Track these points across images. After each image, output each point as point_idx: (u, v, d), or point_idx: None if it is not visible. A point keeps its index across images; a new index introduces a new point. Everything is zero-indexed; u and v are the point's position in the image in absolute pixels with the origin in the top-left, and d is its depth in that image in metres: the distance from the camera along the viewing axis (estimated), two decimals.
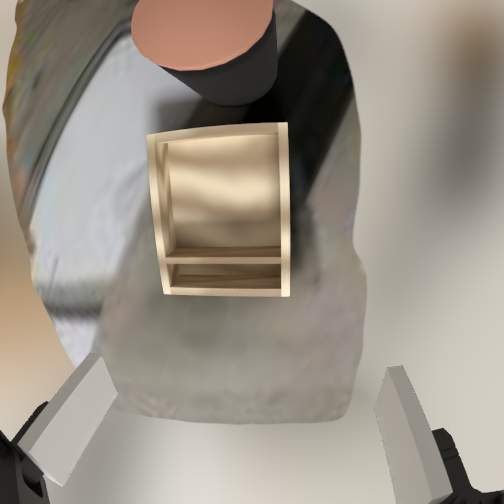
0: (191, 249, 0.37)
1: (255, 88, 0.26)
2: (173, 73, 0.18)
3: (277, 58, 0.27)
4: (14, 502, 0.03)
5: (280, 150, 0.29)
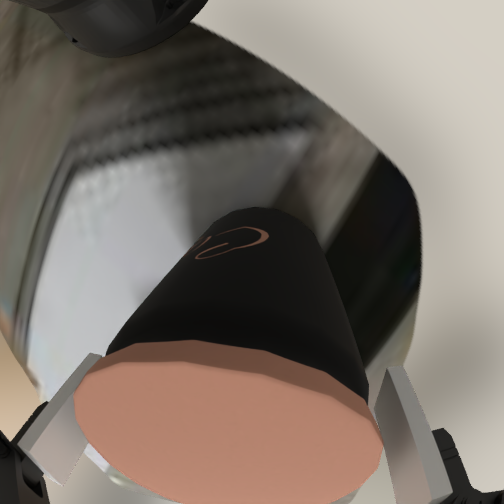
0: None
1: None
2: None
3: None
4: (14, 502, 0.03)
5: None
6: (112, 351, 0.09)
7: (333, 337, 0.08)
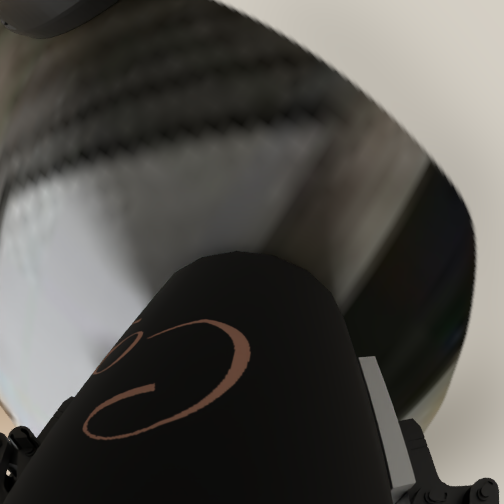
0: None
1: None
2: None
3: None
4: None
5: None
6: None
7: None
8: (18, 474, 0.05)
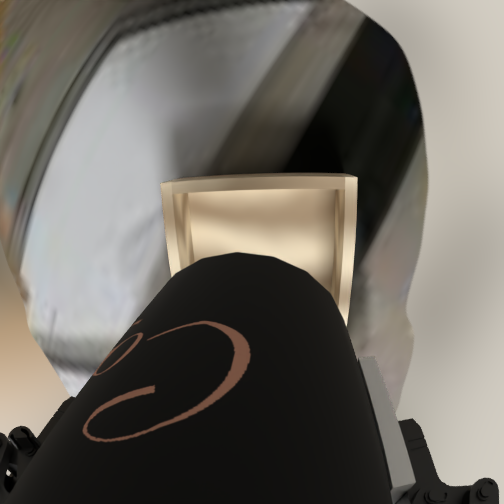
0: None
1: None
2: None
3: None
4: None
5: (346, 215, 0.22)
6: None
7: None
8: (18, 474, 0.05)
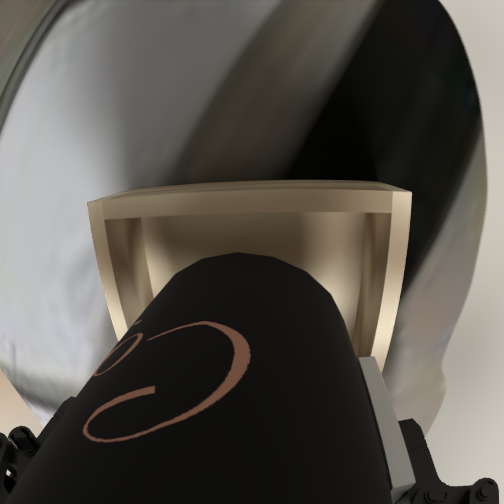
0: None
1: None
2: None
3: None
4: None
5: (390, 256, 0.13)
6: None
7: None
8: (18, 474, 0.05)
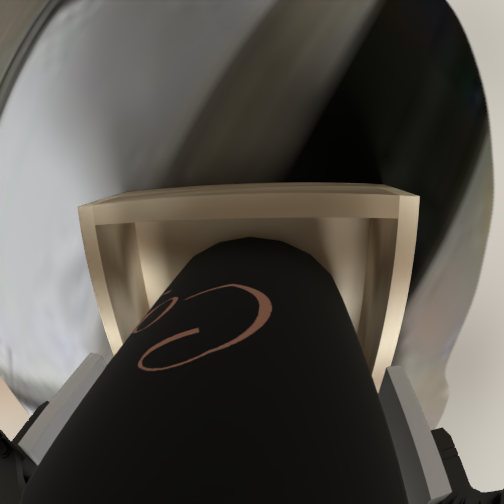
0: None
1: None
2: None
3: None
4: (15, 502, 0.03)
5: (396, 264, 0.12)
6: None
7: None
8: None
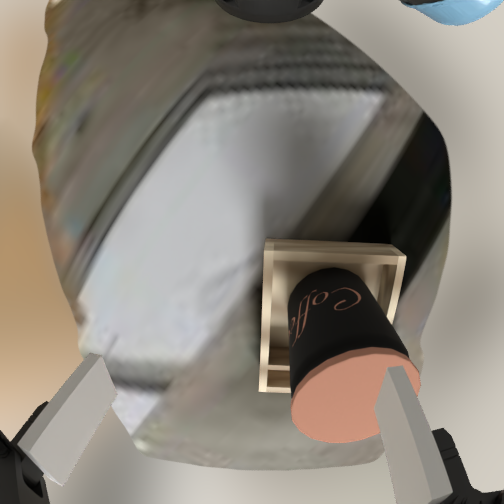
0: (287, 351, 0.37)
1: None
2: None
3: None
4: (14, 502, 0.03)
5: (395, 281, 0.30)
6: (315, 357, 0.20)
7: (402, 344, 0.20)
8: None
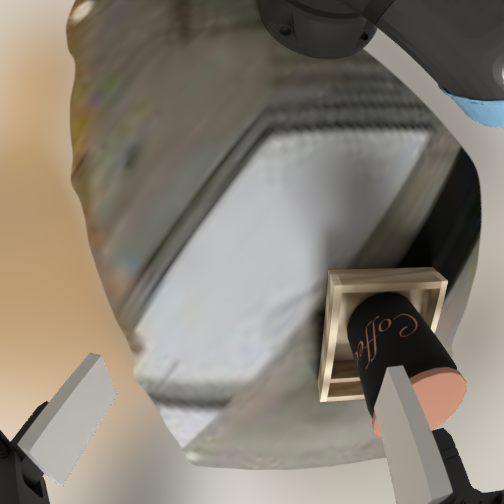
0: (343, 364, 0.40)
1: None
2: None
3: None
4: (14, 502, 0.03)
5: (438, 302, 0.32)
6: None
7: (452, 361, 0.22)
8: None
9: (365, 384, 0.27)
